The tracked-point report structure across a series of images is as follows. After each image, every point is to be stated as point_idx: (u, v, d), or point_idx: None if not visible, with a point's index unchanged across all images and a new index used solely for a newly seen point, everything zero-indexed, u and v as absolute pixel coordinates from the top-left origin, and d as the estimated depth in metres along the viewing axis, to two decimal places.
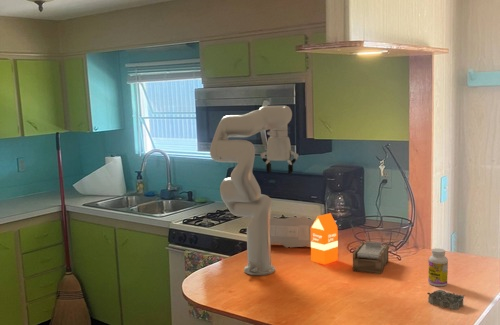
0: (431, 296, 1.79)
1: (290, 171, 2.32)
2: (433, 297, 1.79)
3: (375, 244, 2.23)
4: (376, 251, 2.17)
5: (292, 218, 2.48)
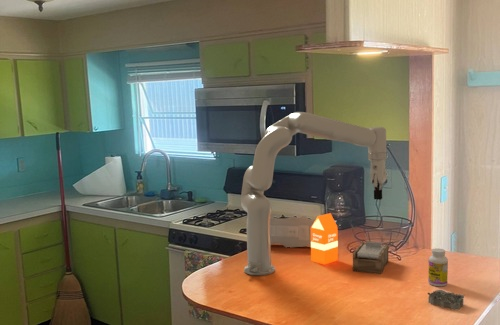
0: (431, 296, 1.79)
1: None
2: (433, 297, 1.78)
3: (375, 244, 2.23)
4: (376, 251, 2.17)
5: (292, 218, 2.48)
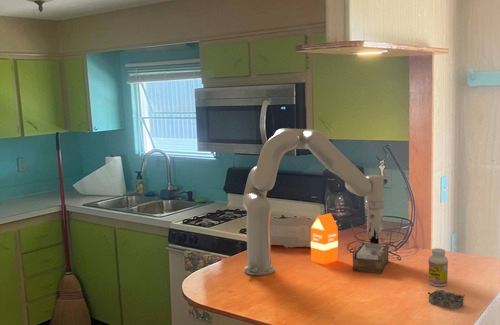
0: (431, 296, 1.79)
1: None
2: (433, 297, 1.79)
3: (375, 245, 2.22)
4: (376, 252, 2.15)
5: (292, 218, 2.48)
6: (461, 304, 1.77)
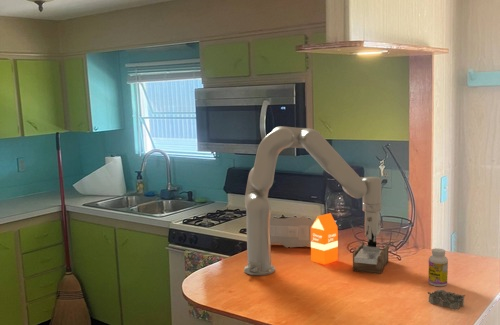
0: (431, 296, 1.80)
1: None
2: (433, 297, 1.79)
3: (373, 248, 2.17)
4: (374, 255, 2.11)
5: (292, 218, 2.48)
6: (461, 304, 1.76)
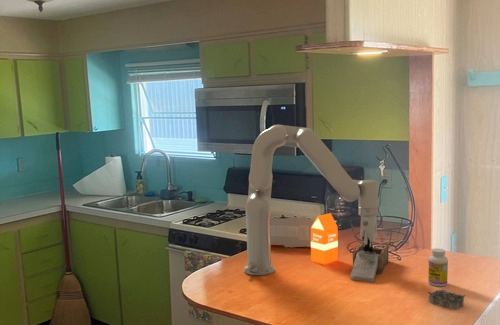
0: (431, 295, 1.80)
1: None
2: (433, 296, 1.79)
3: (369, 255, 2.10)
4: (371, 269, 2.05)
5: (292, 218, 2.48)
6: (461, 304, 1.76)
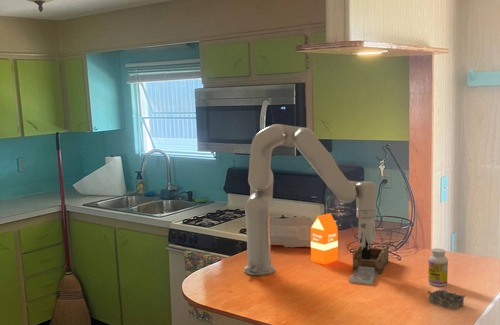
0: (431, 295, 1.80)
1: None
2: (433, 296, 1.79)
3: (368, 268, 2.09)
4: (370, 276, 2.03)
5: (292, 218, 2.48)
6: (461, 304, 1.76)
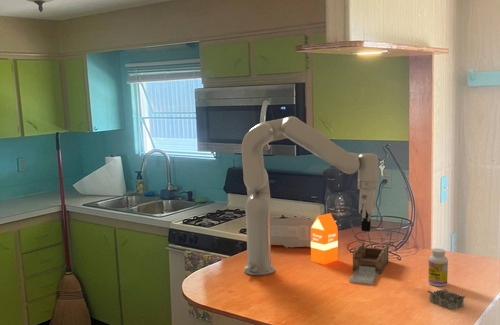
0: (431, 294, 1.80)
1: None
2: (433, 296, 1.80)
3: (369, 268, 2.10)
4: (370, 276, 2.03)
5: (292, 218, 2.48)
6: (460, 305, 1.76)
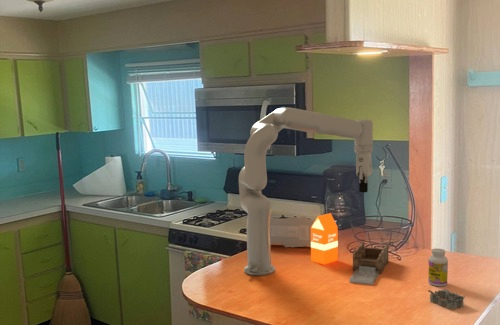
0: (432, 294, 1.81)
1: None
2: (433, 295, 1.80)
3: (369, 268, 2.10)
4: (370, 276, 2.03)
5: (292, 218, 2.48)
6: (460, 305, 1.76)
